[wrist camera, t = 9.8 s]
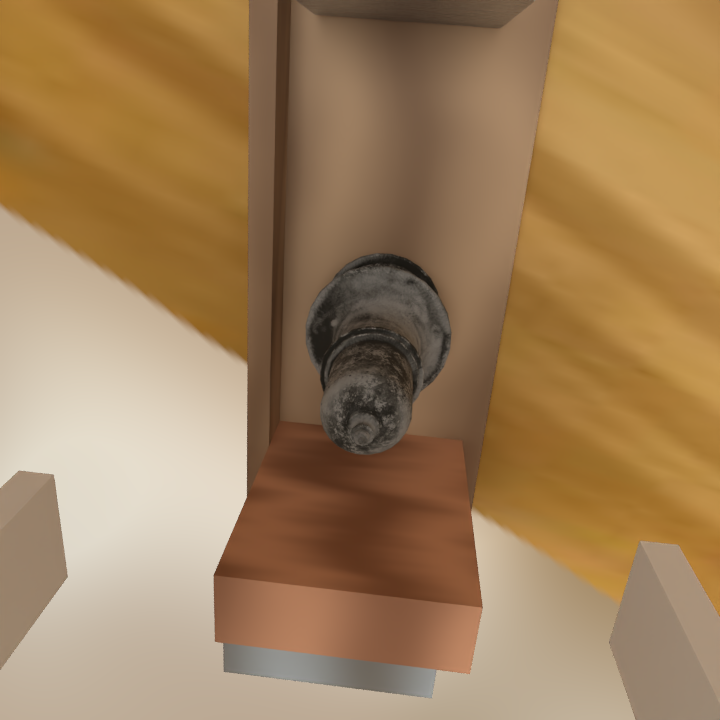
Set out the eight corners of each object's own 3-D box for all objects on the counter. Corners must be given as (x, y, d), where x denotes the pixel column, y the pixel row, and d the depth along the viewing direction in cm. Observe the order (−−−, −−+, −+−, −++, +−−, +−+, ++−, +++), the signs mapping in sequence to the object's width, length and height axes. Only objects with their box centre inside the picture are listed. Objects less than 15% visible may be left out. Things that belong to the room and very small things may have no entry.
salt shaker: (472, 326, 29) (508, 468, 18) (367, 392, 30) (339, 560, 19) (398, 219, 27) (386, 300, 16) (291, 295, 29) (214, 416, 18)
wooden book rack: (264, 513, 36) (190, 713, 24) (277, -215, 23) (136, -518, 12) (462, 536, 35) (482, 751, 24) (584, -197, 23) (756, -499, 11)
